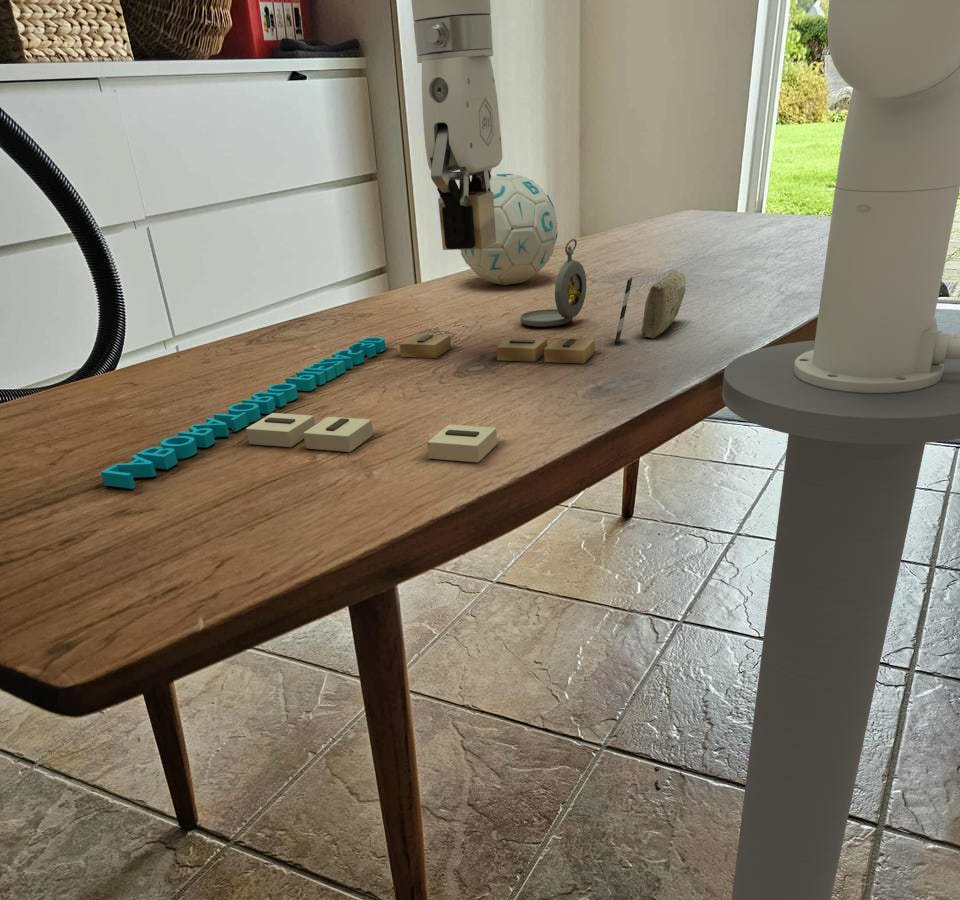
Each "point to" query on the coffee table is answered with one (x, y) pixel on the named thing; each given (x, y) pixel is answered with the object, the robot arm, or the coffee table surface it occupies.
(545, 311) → the pocket watch
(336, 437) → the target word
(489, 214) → the letter block
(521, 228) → the puzzle ball
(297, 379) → the text ornament
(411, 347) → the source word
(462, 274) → the coffee table surface
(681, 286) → the stone and scale-bar
